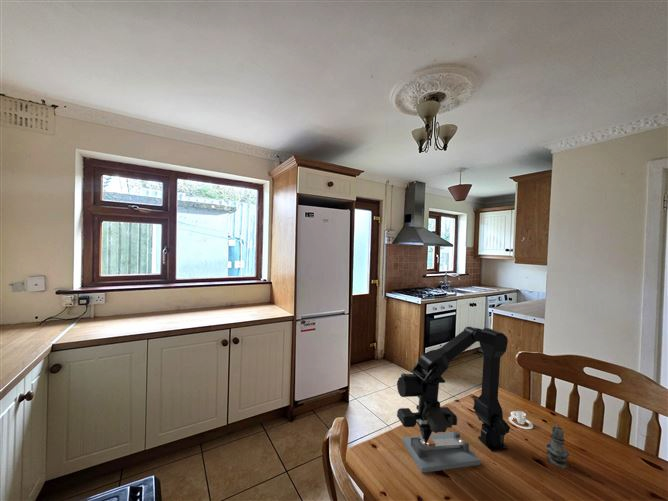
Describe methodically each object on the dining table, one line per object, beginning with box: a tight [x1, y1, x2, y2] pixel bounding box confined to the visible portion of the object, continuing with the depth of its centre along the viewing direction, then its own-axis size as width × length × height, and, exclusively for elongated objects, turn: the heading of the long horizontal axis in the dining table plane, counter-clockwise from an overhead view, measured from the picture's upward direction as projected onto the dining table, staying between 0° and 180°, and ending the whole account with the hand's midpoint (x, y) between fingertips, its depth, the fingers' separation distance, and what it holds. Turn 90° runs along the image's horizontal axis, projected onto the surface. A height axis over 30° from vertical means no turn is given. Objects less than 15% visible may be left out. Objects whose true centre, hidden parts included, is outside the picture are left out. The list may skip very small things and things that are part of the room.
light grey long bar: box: [419, 436, 465, 450], centre depth 88 cm, size 15×3×2 cm, turn 100°
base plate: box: [402, 431, 481, 474], centre depth 88 cm, size 20×13×4 cm, turn 100°
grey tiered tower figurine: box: [545, 423, 570, 469], centre depth 85 cm, size 6×6×12 cm
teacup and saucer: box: [508, 410, 534, 430], centre depth 105 cm, size 9×8×4 cm
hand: (425, 442), depth 87 cm, fingers closed
